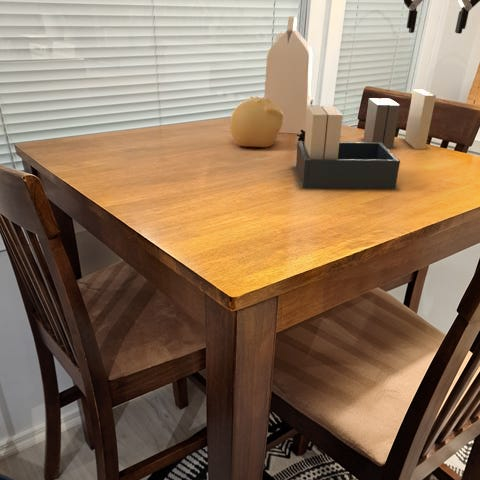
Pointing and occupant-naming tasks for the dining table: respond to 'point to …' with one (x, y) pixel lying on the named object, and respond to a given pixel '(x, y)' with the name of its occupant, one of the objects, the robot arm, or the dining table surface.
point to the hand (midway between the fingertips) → (434, 32)
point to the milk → (290, 77)
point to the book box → (350, 167)
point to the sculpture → (256, 122)
